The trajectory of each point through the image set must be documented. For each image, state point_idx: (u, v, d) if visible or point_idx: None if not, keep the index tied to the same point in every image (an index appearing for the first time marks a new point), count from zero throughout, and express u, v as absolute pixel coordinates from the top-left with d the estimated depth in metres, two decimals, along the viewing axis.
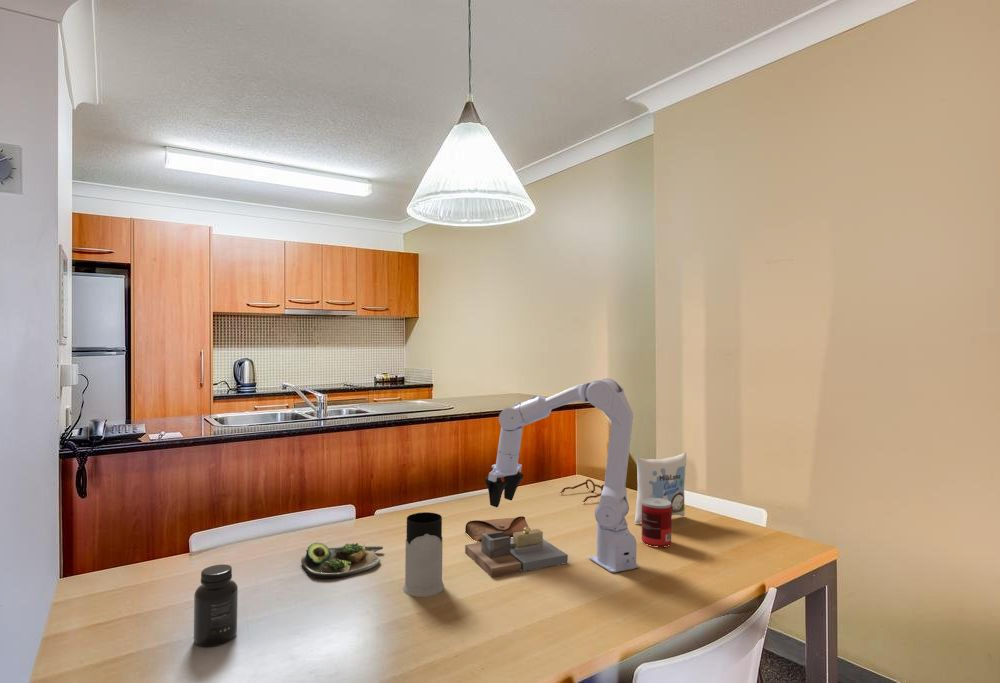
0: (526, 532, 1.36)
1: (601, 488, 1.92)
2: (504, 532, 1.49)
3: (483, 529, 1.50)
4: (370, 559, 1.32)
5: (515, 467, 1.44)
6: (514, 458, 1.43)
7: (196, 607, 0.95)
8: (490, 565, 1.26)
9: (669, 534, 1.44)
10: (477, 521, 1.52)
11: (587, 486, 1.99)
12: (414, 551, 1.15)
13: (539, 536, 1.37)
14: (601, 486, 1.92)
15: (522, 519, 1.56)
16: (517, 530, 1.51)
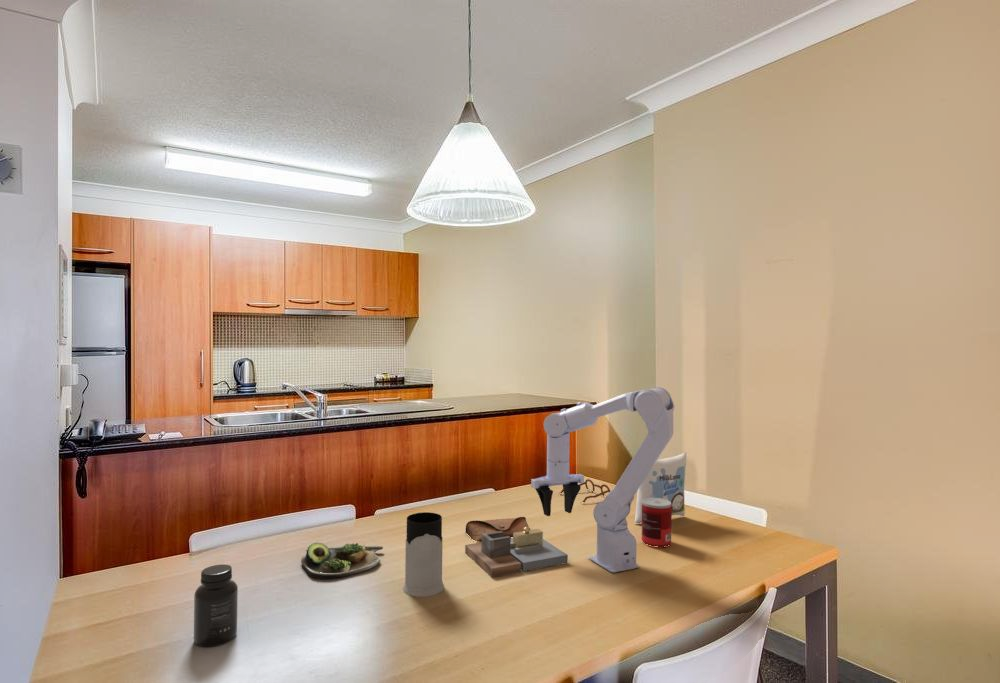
0: (526, 532, 1.36)
1: (600, 488, 1.92)
2: (504, 532, 1.49)
3: (483, 529, 1.50)
4: (370, 559, 1.32)
5: (562, 475, 1.38)
6: (559, 465, 1.38)
7: (196, 607, 0.95)
8: (490, 565, 1.26)
9: (669, 534, 1.44)
10: (477, 521, 1.52)
11: (586, 486, 1.99)
12: (414, 551, 1.15)
13: (539, 536, 1.37)
14: (600, 486, 1.91)
15: (523, 519, 1.56)
16: (517, 531, 1.50)
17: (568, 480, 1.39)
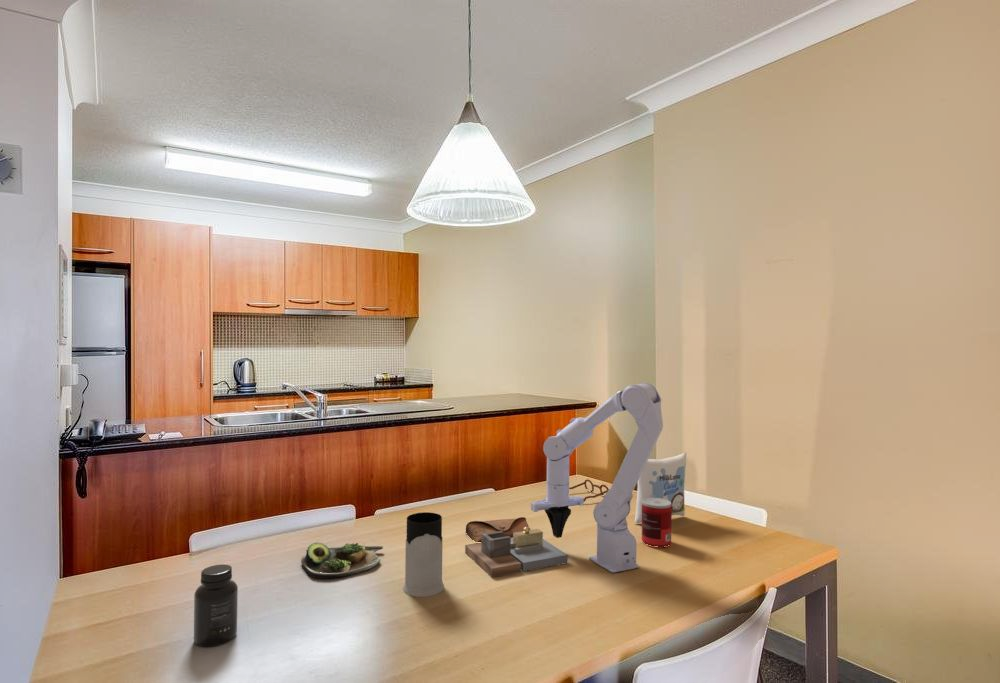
0: (526, 532, 1.36)
1: (600, 488, 1.92)
2: (504, 533, 1.49)
3: (483, 530, 1.49)
4: (370, 559, 1.32)
5: (562, 498, 1.38)
6: (559, 489, 1.38)
7: (196, 607, 0.95)
8: (490, 565, 1.26)
9: (669, 534, 1.44)
10: (477, 522, 1.52)
11: (586, 486, 1.99)
12: (414, 551, 1.15)
13: (539, 536, 1.37)
14: (600, 486, 1.91)
15: (523, 520, 1.56)
16: (517, 531, 1.50)
17: (568, 503, 1.39)
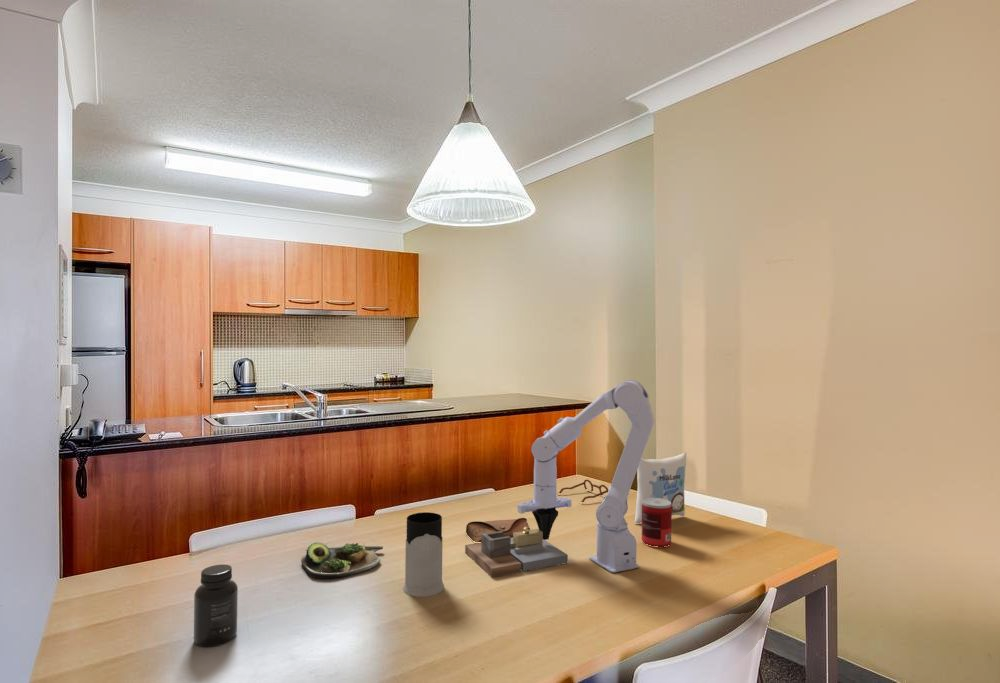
0: (526, 532, 1.36)
1: (599, 488, 1.91)
2: (504, 534, 1.48)
3: (484, 530, 1.49)
4: (370, 559, 1.32)
5: (549, 500, 1.36)
6: (546, 490, 1.36)
7: (196, 607, 0.95)
8: (490, 565, 1.26)
9: (669, 534, 1.44)
10: (478, 522, 1.51)
11: (585, 486, 1.98)
12: (414, 551, 1.15)
13: (539, 536, 1.37)
14: (599, 486, 1.91)
15: (523, 521, 1.55)
16: None
17: (555, 505, 1.37)
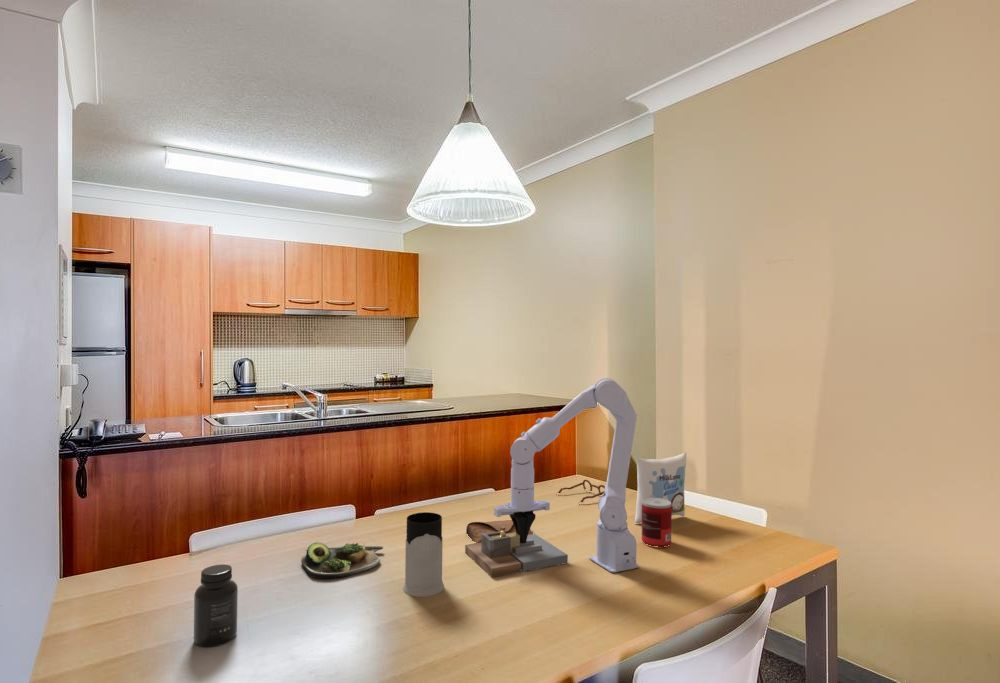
0: (503, 536, 1.33)
1: (598, 488, 1.91)
2: None
3: (484, 531, 1.49)
4: (370, 559, 1.32)
5: (526, 503, 1.34)
6: (523, 493, 1.33)
7: (196, 607, 0.95)
8: (490, 565, 1.26)
9: (669, 534, 1.44)
10: (478, 523, 1.51)
11: (584, 486, 1.98)
12: (414, 551, 1.15)
13: (516, 540, 1.34)
14: (598, 486, 1.91)
15: None
16: None
17: (532, 508, 1.34)
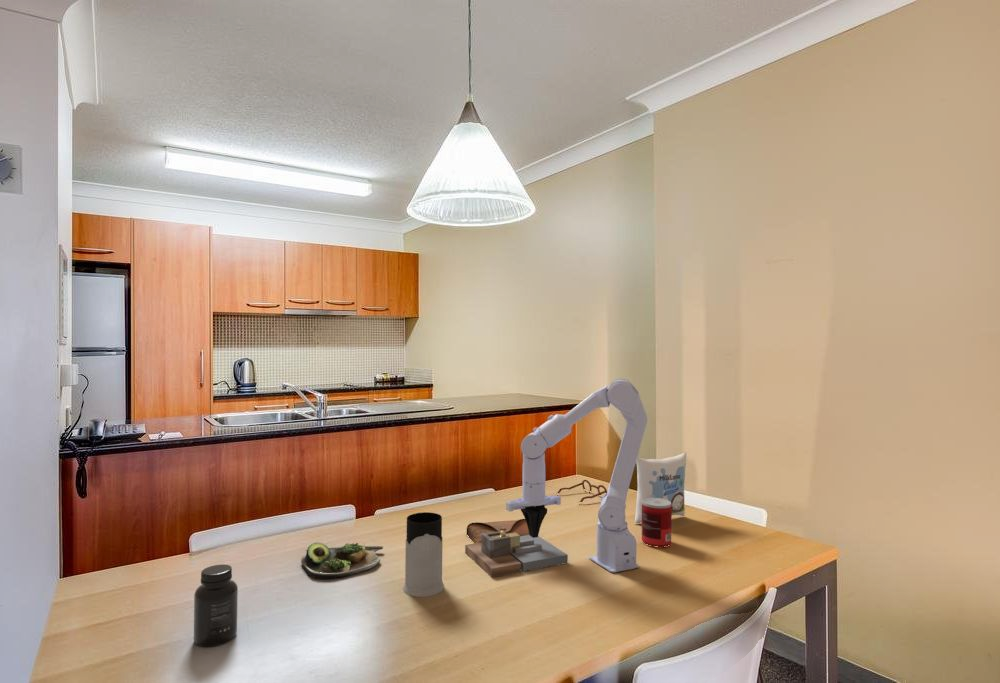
0: (503, 536, 1.33)
1: (597, 488, 1.91)
2: None
3: (484, 531, 1.48)
4: (370, 559, 1.32)
5: (538, 497, 1.35)
6: (534, 487, 1.35)
7: (196, 607, 0.95)
8: (490, 565, 1.26)
9: (669, 534, 1.44)
10: (478, 523, 1.50)
11: (583, 487, 1.98)
12: (414, 551, 1.15)
13: (516, 540, 1.34)
14: (597, 487, 1.91)
15: (524, 522, 1.54)
16: (518, 533, 1.49)
17: (544, 502, 1.36)
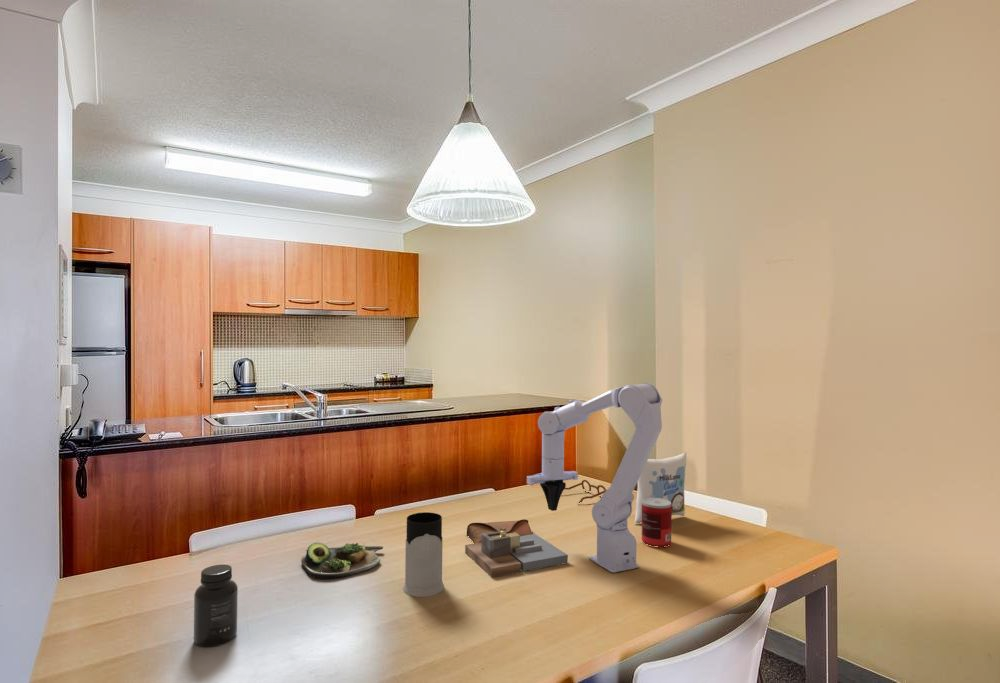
0: (503, 536, 1.33)
1: (597, 489, 1.91)
2: None
3: (484, 531, 1.48)
4: (370, 559, 1.32)
5: (557, 472, 1.41)
6: (554, 462, 1.41)
7: (196, 607, 0.95)
8: (490, 565, 1.26)
9: (669, 534, 1.44)
10: (478, 523, 1.50)
11: (583, 487, 1.98)
12: (414, 551, 1.15)
13: (516, 540, 1.34)
14: (597, 487, 1.91)
15: (525, 522, 1.54)
16: (519, 533, 1.48)
17: (563, 477, 1.42)
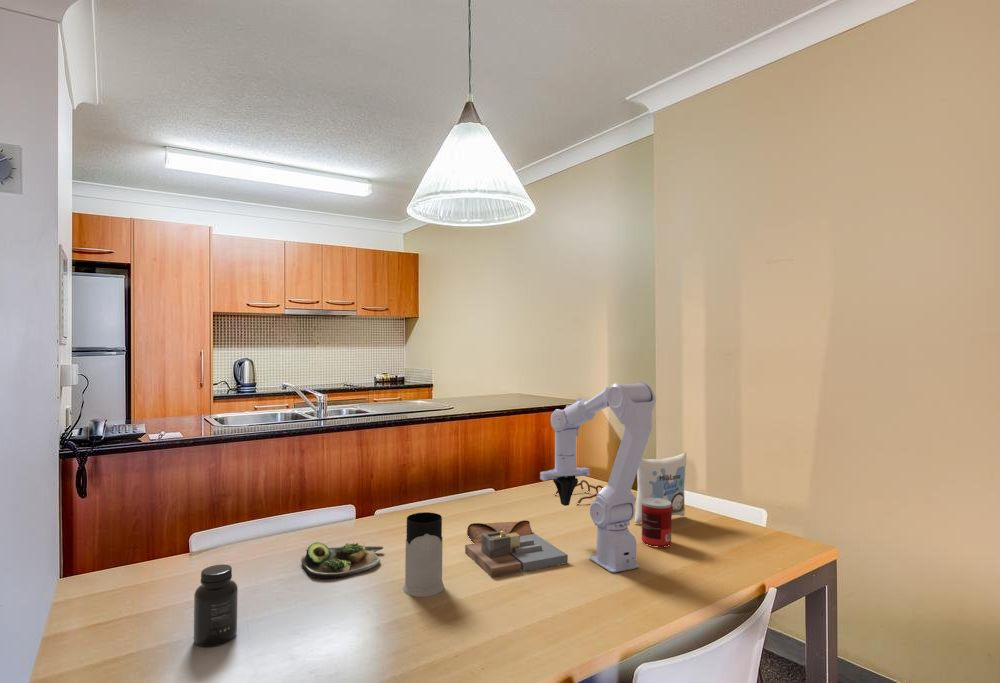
0: (503, 536, 1.33)
1: (596, 489, 1.91)
2: None
3: (484, 532, 1.47)
4: (370, 559, 1.32)
5: (570, 468, 1.46)
6: (566, 459, 1.46)
7: (196, 607, 0.95)
8: (490, 565, 1.26)
9: (669, 534, 1.44)
10: (479, 524, 1.50)
11: (582, 487, 1.98)
12: (414, 551, 1.15)
13: (516, 540, 1.34)
14: (596, 487, 1.90)
15: (526, 523, 1.53)
16: (519, 534, 1.47)
17: (575, 473, 1.47)
